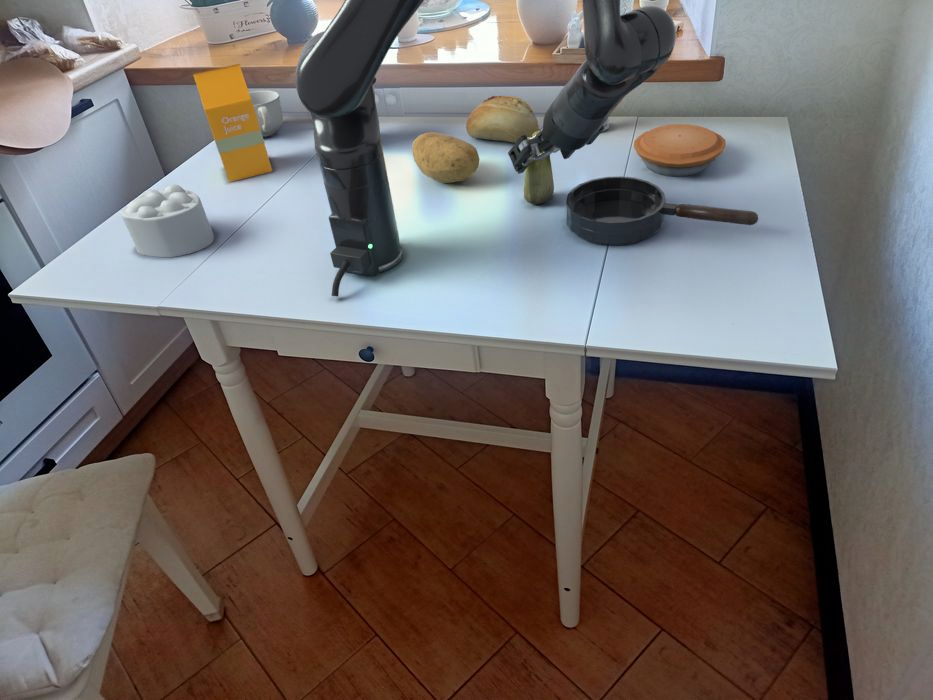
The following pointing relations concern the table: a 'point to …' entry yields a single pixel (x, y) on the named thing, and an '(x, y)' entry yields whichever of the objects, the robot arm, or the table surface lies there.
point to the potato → (445, 157)
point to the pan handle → (711, 213)
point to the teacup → (267, 110)
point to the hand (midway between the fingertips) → (540, 160)
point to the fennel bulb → (538, 180)
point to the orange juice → (233, 122)
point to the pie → (679, 149)
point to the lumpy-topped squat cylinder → (167, 222)
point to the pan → (615, 210)
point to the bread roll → (502, 119)
